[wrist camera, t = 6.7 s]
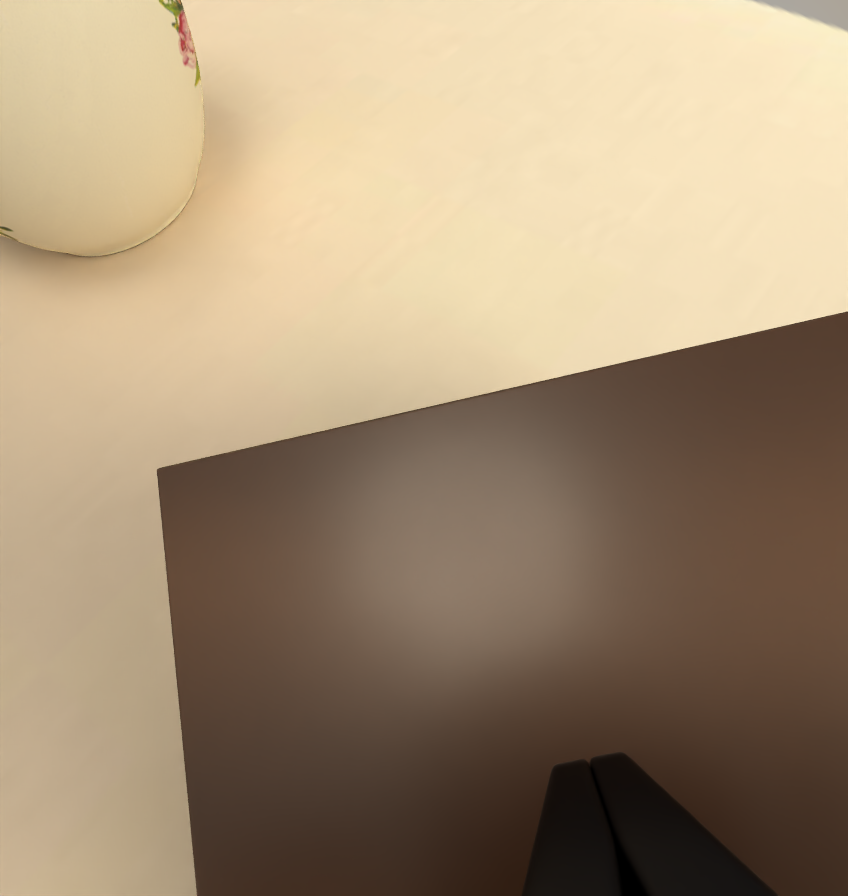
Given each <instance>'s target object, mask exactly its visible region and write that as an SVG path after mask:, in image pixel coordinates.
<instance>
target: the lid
mask: <svg viewBox="0 0 848 896" xmlns="http://www.w3.org/2000/svg"><path fill="white" fill-rule="evenodd" d="M157 476H158V487H159V497H160V508H161V518H162V529H163V540H164V550H165V561H166V571H167V582H168V592H169V603H170V613H171V624H172V635H173V645H174V656H175V666H176V677H177V687H178V698H179V708H180V719H181V730H182V740H183V751H184V761H185V772H186V782H187V793H188V803H189V814H190V825H191V835H192V846H193V856H194V867H195V877H196V888H197V896H521V895H522V891H523V887H524V882H525V878H526V874H527V870H528V866H529V862H530V857H531V853H532V849H533V845H534V841H535V836H536V832H537V828H538V824H539V820H540V816H541V811H542V807H543V803H544V799H545V795H546V790H547V786H548V782H549V778H550V774H551V770H552V768H553V766H555V765H556V764H559V763H564V762H569V761H574V760H579V759H584V760H586V761H587V762H588V763H589V765H590V760H591V758H592V757H595V756H600V755H605V754H610V753H615V752H623V753H625V754H627V755H628V756H629V757H630V758H631V759H632V760H634V761H635V762H636V763H637V764H638V765H639V766H640V767H641V768H642V769H643V770H644V771H645V772H647V773H648V774H649V775H650V776H651V777H652V778H653V779H654V780H655V781H656V782H657V783H658V784H659V785H661V786H662V787H663V788H664V789H665V790H666V791H667V792H668V793H669V794H670V795H671V796H672V797H673V798H675V799H676V800H677V801H678V802H679V803H680V804H681V805H682V806H683V807H684V808H685V809H686V810H687V811H689V812H690V813H691V814H692V815H693V816H694V817H695V818H696V819H697V820H698V821H699V822H700V823H701V824H703V825H704V826H705V827H706V828H707V829H708V830H709V831H710V832H711V833H712V834H713V835H714V836H715V837H717V838H718V839H719V840H720V841H721V842H722V843H723V844H724V845H725V846H726V847H727V848H728V849H729V850H731V851H732V852H733V853H734V854H735V855H736V856H737V857H738V858H739V859H740V860H741V861H742V862H743V863H745V864H746V865H747V866H748V867H749V868H750V869H751V870H752V871H753V872H754V873H755V874H756V875H757V876H759V877H760V878H761V879H762V880H763V881H764V882H765V883H766V884H767V885H768V886H769V887H770V888H771V889H773V890H774V891H775V892H776V893H777V894H778V895H779V896H848V312H843V313H839V314H835V315H830V316H826V317H821V318H817V319H813V320H808V321H804V322H799V323H795V324H791V325H786V326H782V327H777V328H773V329H769V330H764V331H760V332H755V333H751V334H747V335H742V336H738V337H733V338H729V339H725V340H720V341H716V342H711V343H707V344H703V345H698V346H694V347H689V348H685V349H681V350H676V351H672V352H667V353H663V354H659V355H654V356H650V357H645V358H641V359H637V360H632V361H628V362H623V363H619V364H615V365H610V366H606V367H602V368H597V369H593V370H588V371H584V372H580V373H575V374H571V375H566V376H562V377H558V378H553V379H549V380H544V381H540V382H536V383H531V384H527V385H522V386H518V387H514V388H509V389H505V390H500V391H496V392H492V393H487V394H483V395H478V396H474V397H470V398H465V399H461V400H456V401H452V402H448V403H443V404H439V405H434V406H430V407H426V408H421V409H417V410H412V411H408V412H404V413H399V414H395V415H390V416H386V417H382V418H377V419H373V420H368V421H364V422H360V423H355V424H351V425H347V426H342V427H338V428H333V429H329V430H325V431H320V432H316V433H311V434H307V435H303V436H298V437H294V438H289V439H285V440H281V441H276V442H272V443H267V444H263V445H259V446H254V447H250V448H245V449H241V450H237V451H232V452H228V453H223V454H219V455H215V456H210V457H206V458H201V459H197V460H193V461H188V462H184V463H179V464H175V465H171V466H166V467H162V468H159V469H157Z"/></svg>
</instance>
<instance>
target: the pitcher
mask: <svg viewBox="0 0 848 896" xmlns="http://www.w3.org/2000/svg"><path fill="white" fill-rule="evenodd" d="M204 129H205V123H204V108H203V94H202V86H201V79H200V72H199V66H198V62H197V57H196V52H195V48H194V43H193V40H192V36H191V32H190V29H189V26H188V22H187V19H186V16H185V12H184V9H183V6H182V3H181V0H0V234H1V235H3V236H5V237H7V238H10V239H13V240H15V241H18V242H21V243H24V244H27V245H30V246H33V247H36V248H40V249H45V250H50V251H57V252H64V253H69V254H73V255H78V256H102V255H109V254H113V253H117V252H121V251H124V250H127V249H129V248H132V247H134V246H136V245H139V244H141V243H143V242H145V241H146V240H148V239H150V238H151V237H153V236H155V235H156V234H157V233H159V232H160V231H162V230H163V229H164V228H165V227H166V226H168V225H169V224H170V223H171V222H172V221H173V220H174V219H175V218H176V217H177V216H178V215H179V213H180V212H181V211H182V209H183V208H184V207H185V205H186V204H187V202H188V200H189V199H190V197H191V195H192V192H193V190H194V187H195V184H196V180H197V172H198V168H199V165H200V161H201V157H202V153H203V145H204Z"/></svg>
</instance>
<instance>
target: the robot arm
mask: <svg viewBox="0 0 848 896" xmlns="http://www.w3.org/2000/svg"><path fill="white" fill-rule="evenodd" d="M521 896H779V895H778V894H777V893H776V892H775V891H774V890H773V889H771V888H770V887H769V886H768V885H767V884H766V883H765V882H764V881H763V880H762V879H761V878H760V877H759V876H757V875H756V874H755V873H754V872H753V871H752V870H751V869H750V868H749V867H748V866H747V865H746V864H745V863H743V862H742V861H741V860H740V859H739V858H738V857H737V856H736V855H735V854H734V853H733V852H732V851H731V850H729V849H728V848H727V847H726V846H725V845H724V844H723V843H722V842H721V841H720V840H719V839H718V838H717V837H715V836H714V835H713V834H712V833H711V832H710V831H709V830H708V829H707V828H706V827H705V826H704V825H703V824H701V823H700V822H699V821H698V820H697V819H696V818H695V817H694V816H693V815H692V814H691V813H690V812H689V811H687V810H686V809H685V808H684V807H683V806H682V805H681V804H680V803H679V802H678V801H677V800H676V799H675V798H673V797H672V796H671V795H670V794H669V793H668V792H667V791H666V790H665V789H664V788H663V787H662V786H661V785H659V784H658V783H657V782H656V781H655V780H654V779H653V778H652V777H651V776H650V775H649V774H648V773H647V772H645V771H644V770H643V769H642V768H641V767H640V766H639V765H638V764H637V763H636V762H635V761H634V760H632V759H631V758H630V757H629V756H628V755H627V754H625V753H623V752H615V753H610V754H605V755H600V756H595V757H592V758H591V760H590V765H589V763H588V762H587V761H586V760H584V759H579V760H574V761H569V762H564V763H559V764H556V765H555V766H553V768H552V770H551V774H550V778H549V782H548V786H547V790H546V795H545V799H544V803H543V807H542V811H541V816H540V820H539V824H538V828H537V832H536V836H535V841H534V845H533V849H532V853H531V857H530V862H529V866H528V870H527V874H526V878H525V882H524V887H523V891H522V895H521Z"/></svg>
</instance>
